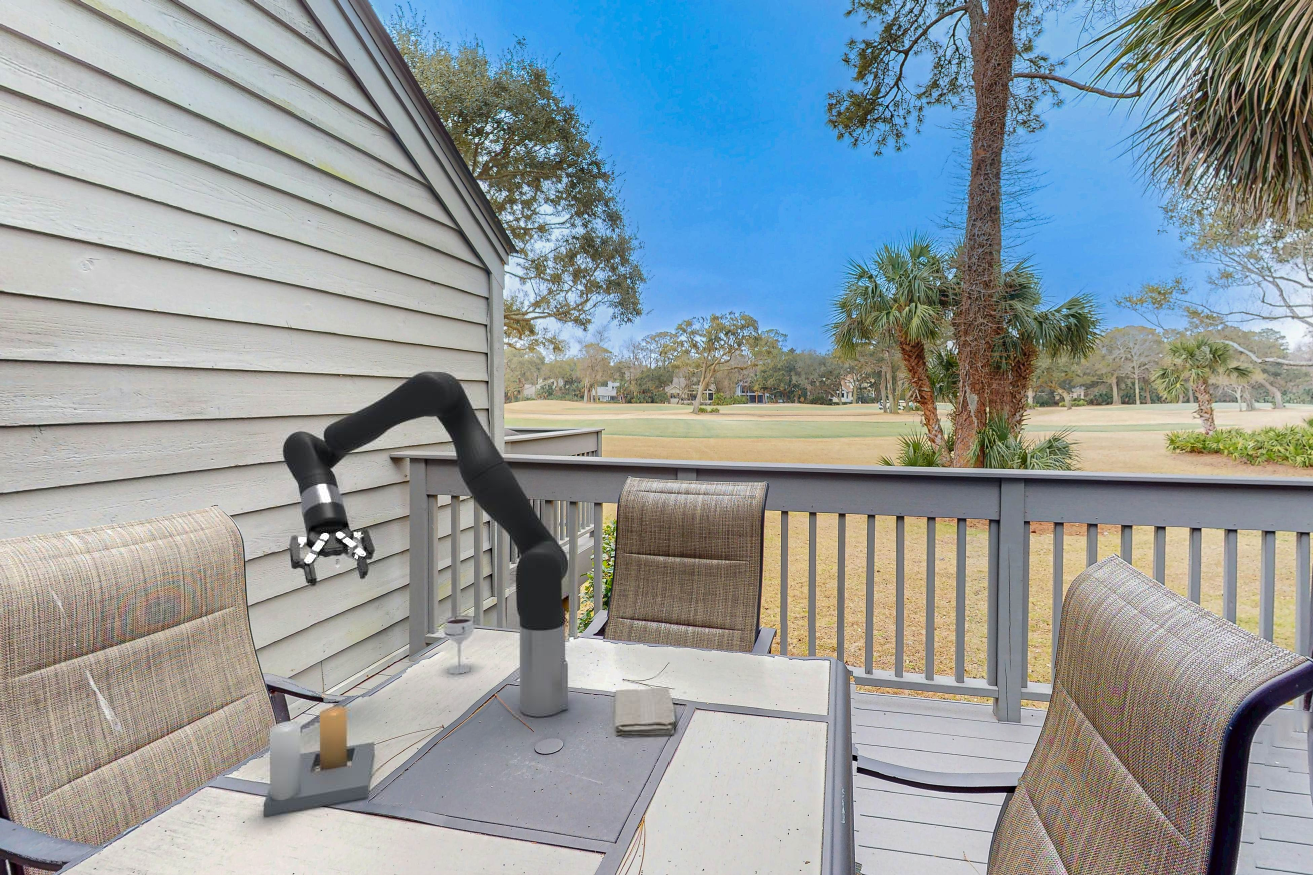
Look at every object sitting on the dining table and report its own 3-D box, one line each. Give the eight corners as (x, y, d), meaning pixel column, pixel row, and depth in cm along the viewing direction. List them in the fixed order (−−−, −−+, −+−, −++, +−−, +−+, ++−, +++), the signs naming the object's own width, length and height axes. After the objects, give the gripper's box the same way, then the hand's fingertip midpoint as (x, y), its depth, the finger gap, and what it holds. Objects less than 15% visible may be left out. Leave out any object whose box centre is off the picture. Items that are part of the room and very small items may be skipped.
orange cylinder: (348, 762, 108) (347, 704, 108) (345, 774, 104) (344, 714, 104) (322, 766, 106) (321, 708, 106) (318, 779, 103) (317, 718, 102)
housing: (374, 753, 111) (374, 685, 111) (367, 797, 98) (367, 720, 98) (283, 767, 106) (282, 697, 106) (263, 816, 93) (262, 736, 93)
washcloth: (614, 741, 116) (614, 724, 116) (612, 698, 134) (612, 684, 134) (678, 738, 117) (678, 722, 117) (668, 696, 135) (668, 682, 135)
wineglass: (461, 677, 144) (461, 625, 144) (437, 673, 146) (437, 621, 146) (480, 666, 150) (480, 616, 150) (456, 662, 153) (456, 613, 152)
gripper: (286, 503, 120) (299, 574, 111) (365, 497, 129) (383, 563, 121) (280, 527, 124) (293, 597, 116) (358, 520, 133) (375, 585, 125)
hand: (339, 579), depth 118 cm, fingers open, 8 cm apart
